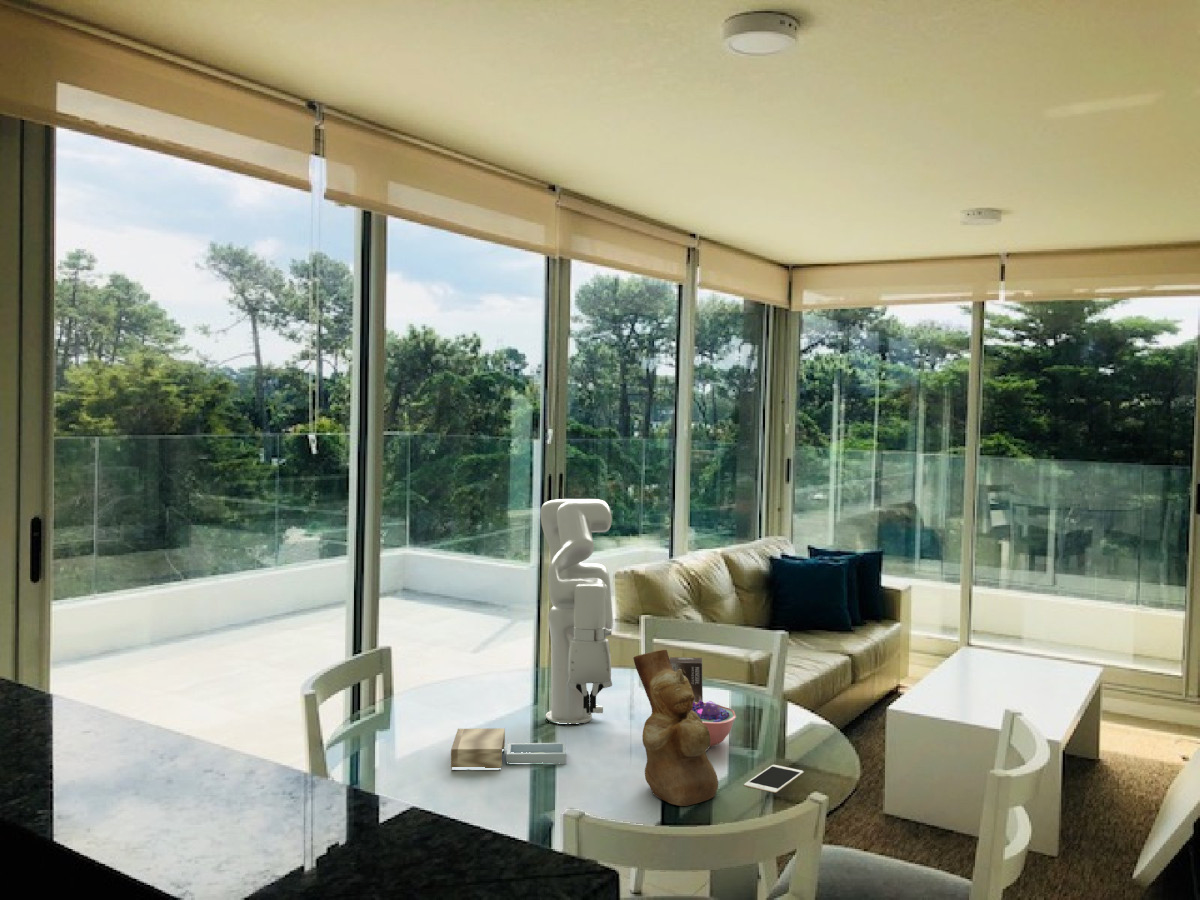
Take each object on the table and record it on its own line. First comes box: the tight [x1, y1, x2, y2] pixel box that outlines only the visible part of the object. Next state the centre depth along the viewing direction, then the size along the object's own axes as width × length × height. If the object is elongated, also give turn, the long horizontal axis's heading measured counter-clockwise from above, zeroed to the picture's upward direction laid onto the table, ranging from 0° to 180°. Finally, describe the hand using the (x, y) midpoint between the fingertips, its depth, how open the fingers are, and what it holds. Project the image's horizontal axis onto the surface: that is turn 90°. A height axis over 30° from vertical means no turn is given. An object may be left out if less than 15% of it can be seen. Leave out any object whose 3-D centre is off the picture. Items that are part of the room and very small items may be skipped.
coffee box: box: [669, 656, 704, 703], centre depth 268 cm, size 9×6×16 cm
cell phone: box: [743, 764, 805, 794], centre depth 222 cm, size 8×16×1 cm, turn 146°
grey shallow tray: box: [505, 742, 567, 765], centre depth 234 cm, size 14×8×2 cm, turn 92°
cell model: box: [691, 700, 737, 748], centre depth 246 cm, size 17×20×11 cm
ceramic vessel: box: [632, 648, 719, 807], centre depth 214 cm, size 16×22×30 cm
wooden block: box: [450, 727, 506, 768], centre depth 234 cm, size 12×16×5 cm
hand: (589, 711), depth 234 cm, fingers closed
